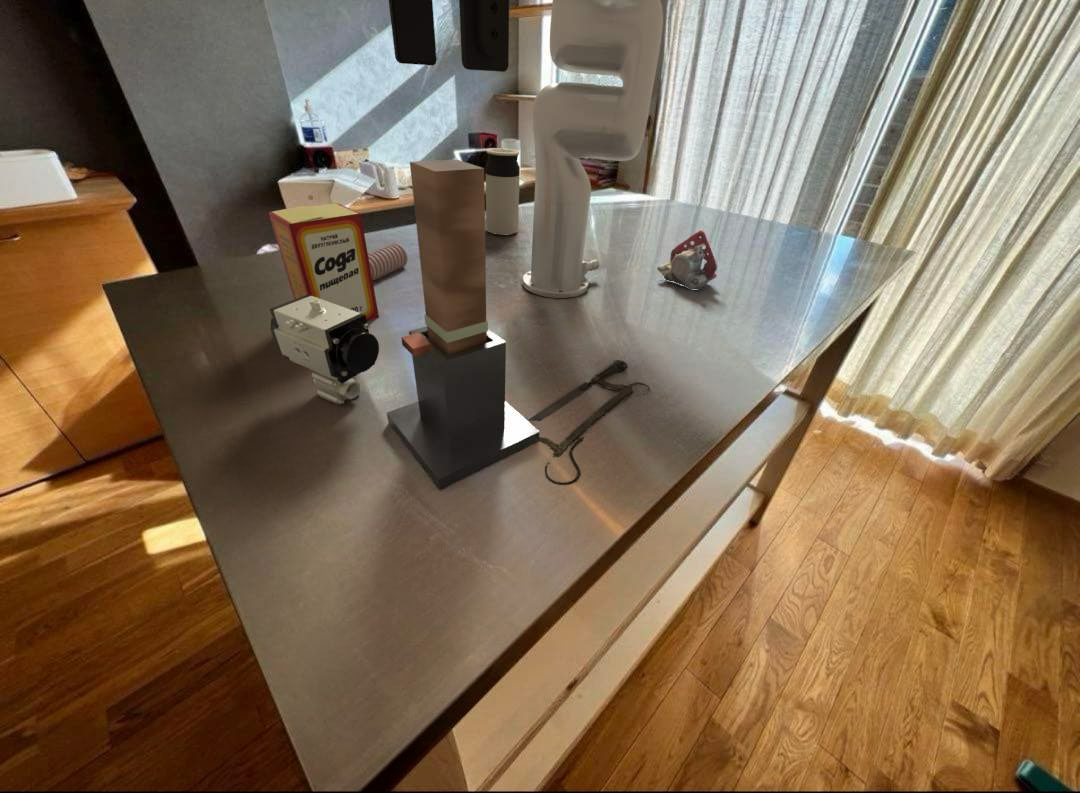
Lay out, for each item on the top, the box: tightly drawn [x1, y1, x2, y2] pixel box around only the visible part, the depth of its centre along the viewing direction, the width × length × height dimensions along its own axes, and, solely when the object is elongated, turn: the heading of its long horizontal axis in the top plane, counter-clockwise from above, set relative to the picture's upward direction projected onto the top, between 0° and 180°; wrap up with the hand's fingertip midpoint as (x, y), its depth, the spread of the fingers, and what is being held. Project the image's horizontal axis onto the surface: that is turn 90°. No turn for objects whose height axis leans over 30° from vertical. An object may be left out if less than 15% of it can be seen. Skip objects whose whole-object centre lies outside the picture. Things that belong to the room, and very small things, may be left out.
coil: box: [368, 242, 408, 282], centre depth 80 cm, size 5×5×18 cm
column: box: [409, 159, 489, 356], centre depth 37 cm, size 4×4×18 cm
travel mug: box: [485, 147, 521, 234], centre depth 104 cm, size 8×8×18 cm
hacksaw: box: [528, 359, 651, 486], centre depth 52 cm, size 24×10×2 cm, turn 137°
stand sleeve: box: [386, 326, 540, 491], centre depth 44 cm, size 12×12×13 cm
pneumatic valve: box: [269, 294, 380, 406], centre depth 48 cm, size 6×12×12 cm, turn 62°
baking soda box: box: [268, 203, 380, 322], centre depth 63 cm, size 10×6×16 cm
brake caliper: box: [656, 230, 718, 290], centre depth 86 cm, size 11×10×11 cm
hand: (448, 66), depth 31 cm, fingers open, 9 cm apart
